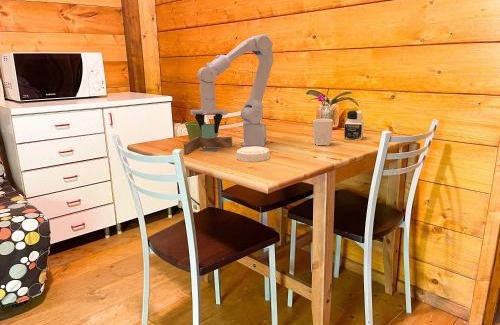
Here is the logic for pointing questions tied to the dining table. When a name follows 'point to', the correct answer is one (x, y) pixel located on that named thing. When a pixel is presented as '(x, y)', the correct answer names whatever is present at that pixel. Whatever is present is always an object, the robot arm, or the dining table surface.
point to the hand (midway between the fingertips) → (209, 133)
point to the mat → (210, 149)
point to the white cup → (322, 131)
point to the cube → (208, 131)
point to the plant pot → (193, 129)
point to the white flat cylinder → (253, 154)
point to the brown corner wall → (207, 143)
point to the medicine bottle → (354, 125)
